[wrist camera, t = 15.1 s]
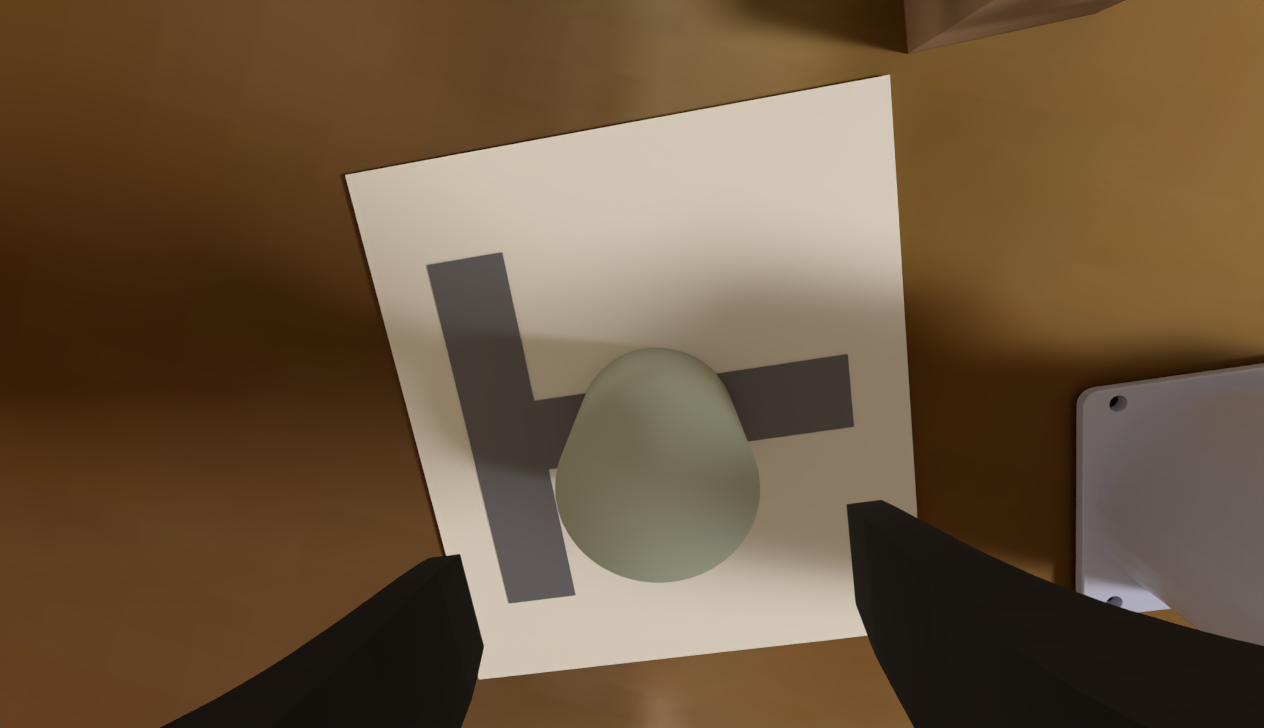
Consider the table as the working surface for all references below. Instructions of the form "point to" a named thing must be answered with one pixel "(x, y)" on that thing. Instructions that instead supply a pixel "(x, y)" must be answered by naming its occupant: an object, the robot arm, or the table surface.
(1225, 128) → the table surface
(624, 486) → the sage cylinder
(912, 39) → the wooden cube
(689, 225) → the board
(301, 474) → the table surface
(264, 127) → the table surface
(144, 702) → the table surface
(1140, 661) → the robot arm
